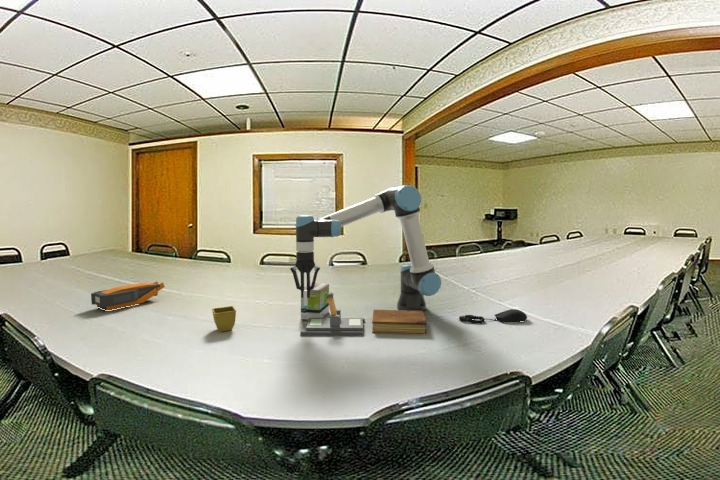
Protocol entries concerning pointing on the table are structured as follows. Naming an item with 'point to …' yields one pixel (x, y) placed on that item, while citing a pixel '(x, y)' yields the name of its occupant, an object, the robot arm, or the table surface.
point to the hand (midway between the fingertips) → (305, 304)
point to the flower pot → (224, 318)
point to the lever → (331, 303)
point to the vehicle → (125, 295)
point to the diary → (399, 322)
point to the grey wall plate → (332, 333)
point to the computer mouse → (498, 317)
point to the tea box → (316, 302)
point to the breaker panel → (335, 323)
